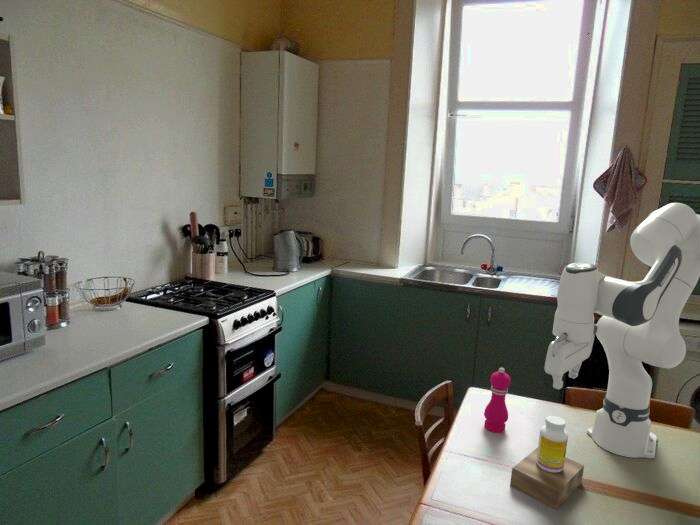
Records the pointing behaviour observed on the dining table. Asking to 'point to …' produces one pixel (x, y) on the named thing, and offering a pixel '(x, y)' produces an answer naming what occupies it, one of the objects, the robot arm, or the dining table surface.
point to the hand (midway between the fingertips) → (565, 382)
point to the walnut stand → (546, 480)
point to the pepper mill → (497, 402)
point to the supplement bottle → (552, 445)
